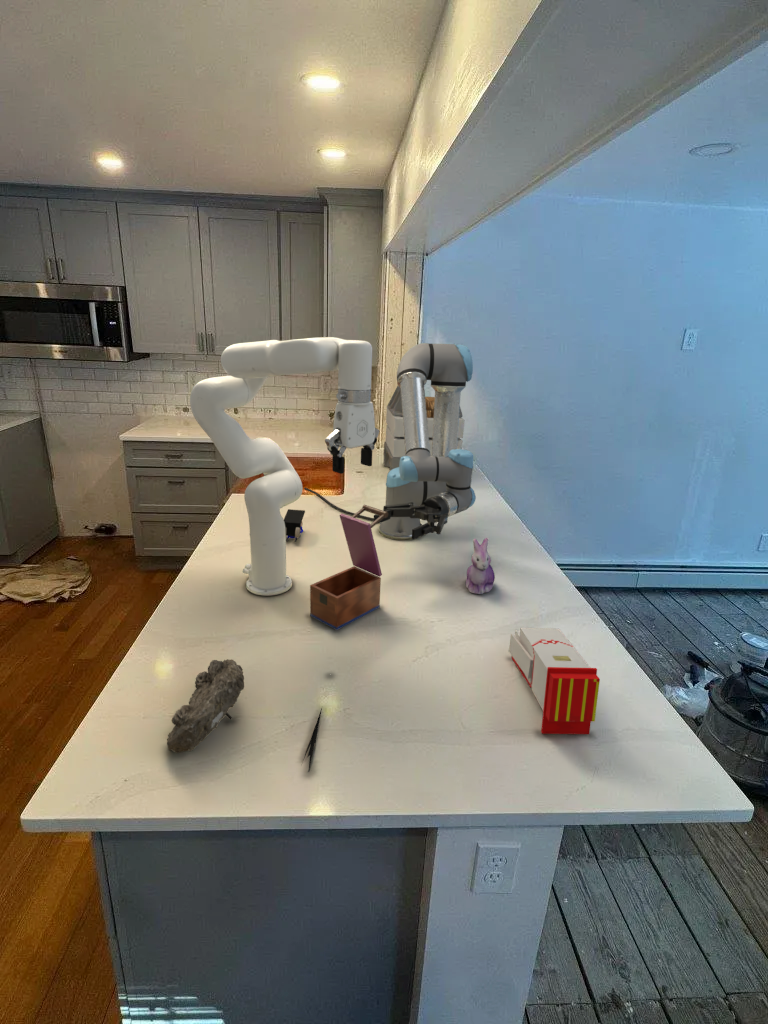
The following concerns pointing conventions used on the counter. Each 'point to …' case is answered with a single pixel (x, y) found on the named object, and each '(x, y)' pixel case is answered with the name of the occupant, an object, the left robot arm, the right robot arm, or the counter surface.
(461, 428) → the transformer
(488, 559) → the figurine
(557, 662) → the toy
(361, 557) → the lid
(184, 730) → the fossil
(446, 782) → the counter surface
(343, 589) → the chest
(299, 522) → the figurine character
